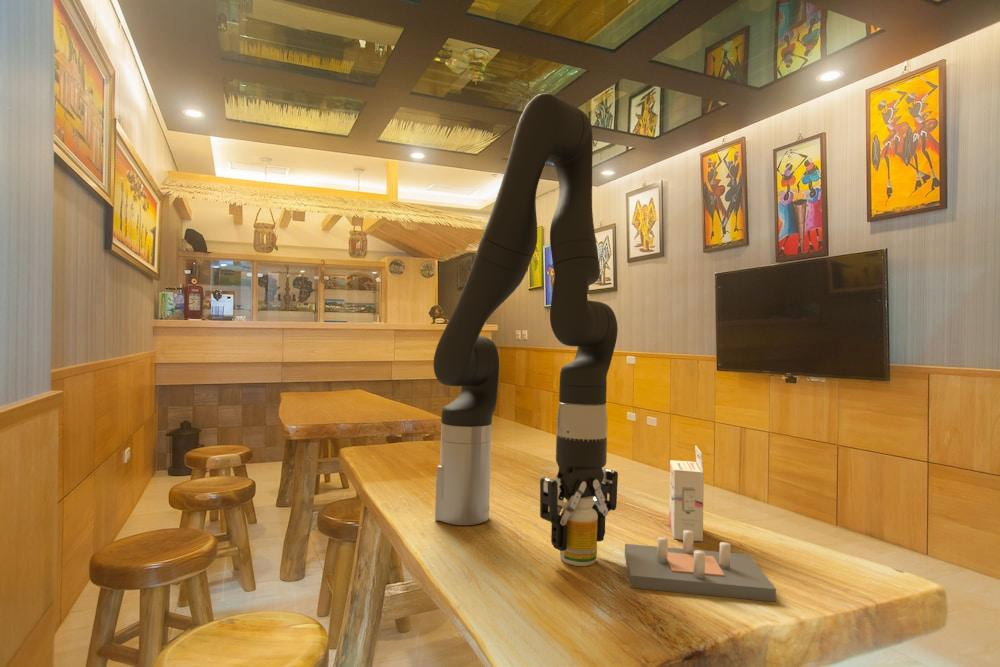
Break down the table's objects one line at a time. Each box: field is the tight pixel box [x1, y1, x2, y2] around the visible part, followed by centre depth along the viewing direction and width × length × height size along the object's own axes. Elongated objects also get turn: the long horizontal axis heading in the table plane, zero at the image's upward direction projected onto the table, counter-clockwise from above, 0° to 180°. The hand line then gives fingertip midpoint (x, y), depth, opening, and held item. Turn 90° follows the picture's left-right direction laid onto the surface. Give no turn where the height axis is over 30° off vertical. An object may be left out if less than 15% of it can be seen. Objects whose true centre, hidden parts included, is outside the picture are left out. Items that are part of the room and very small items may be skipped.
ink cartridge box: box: [668, 445, 705, 542], centre depth 96 cm, size 9×5×15 cm, turn 168°
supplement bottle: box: [559, 496, 598, 567], centre depth 82 cm, size 5×5×10 cm
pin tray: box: [624, 530, 777, 603], centre depth 77 cm, size 18×12×5 cm, turn 81°
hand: (578, 544), depth 82 cm, fingers open, 7 cm apart
